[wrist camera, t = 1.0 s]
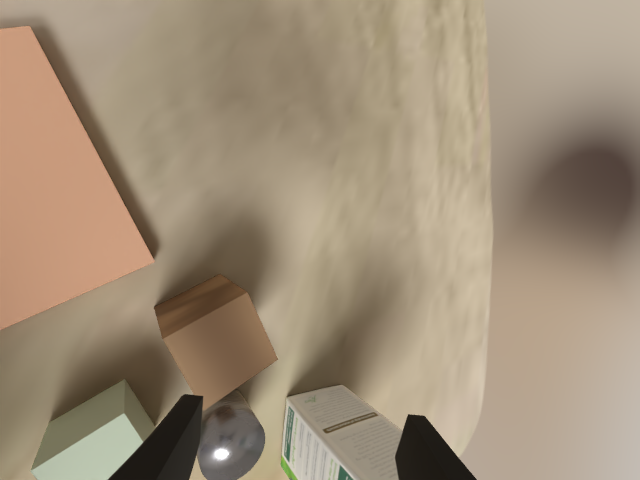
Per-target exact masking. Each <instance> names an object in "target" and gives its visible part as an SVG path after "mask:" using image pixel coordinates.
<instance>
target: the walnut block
mask: <svg viewBox="0 0 640 480" xmlns="http://www.w3.org/2000/svg"><path fill="white" fill-rule="evenodd" d="M154 309H155V313H156V316H157V320H158V324H159V327H160V331H161V335H162V339H163V341H164V342H165V344H166V346H167V348H168V349H169V351H170V353H171V355H172V356H173V358H174V360H175V362H176V364H177V365H178V367H179V369H180V371H181V372H182V374H183V376H184V378H185V379H186V381H187V383H188V385H189V387H190V388H191V390H192V392H193V394H194V395H199V396H203V408H202V409H203V411H204V410H206V409H207V408H208V407H210V406H211V405H213V404H214V403H216V402H217V401H219V400H220V399H221V398H223V397H224V396H226V395H227V394H229V393H230V392H232V391H233V390H234V389H236V388H237V387H239V386H240V385H242V384H243V383H245V382H246V381H247V380H249V379H250V378H252V377H253V376H255V375H256V374H258V373H259V372H261V371H262V370H263V369H265V368H266V367H268V366H269V365H271V364H272V363H274V362H275V361H276V360H278V358H277V356H276V354H275V352H274V349H273V347H272V345H271V343H270V341H269V338H268V336H267V334H266V332H265V329H264V327H263V325H262V323H261V321H260V318H259V316H258V314H257V312H256V310H255V307H254V305H253V303H252V301H251V299H250V296H249V294H248V292H247V291H245V290H244V289H242V288H241V287H239V286H238V285H236V284H235V283H233V282H232V281H230V280H229V279H227V278H226V277H224V276H223V275H221V274H219V275H217V276H215V277H213V278H211V279H209V280H207V281H205V282H203V283H201V284H199V285H197V286H195V287H193V288H191V289H189V290H187V291H185V292H183V293H181V294H179V295H177V296H175V297H173V298H171V299H169V300H167V301H165V302H163V303H161V304H159V305H157V306H155V307H154Z"/></svg>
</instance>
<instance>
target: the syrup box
mask: <svg viewBox="0 0 640 480" xmlns="http://www.w3.org/2000/svg"><path fill="white" fill-rule="evenodd" d="M402 432H403V431H402V430H401V429H400V428H398V427H397V426H396V425H395V424H393V423H392V422H391V421H389V420H388V419H387V418H386V417H384V416H383V415H382V414H380V413H379V412H378V411H376V410H375V409H374V408H372V407H371V406H370V405H369V404H367V403H366V402H365V401H363V400H362V399H361V398H359V397H358V396H357V395H356V394H354V393H353V392H352V391H350V390H349V389H348V388H346V387H345V386H344V385H337V386H332V387H327V388H322V389H318V390H314V391H310V392H305V393H301V394H297V395H293V396H289V397H287V398H286V411H285V420H284V431H283V443H282V457H281V467H282V468H283V470H284V471H285V473H286V474H287V476H288V477H289V479H290V480H399V478H398V473H397V467H396V461H395V455H396V451H397V448H398V445H399V442H400V439H401V436H402Z"/></svg>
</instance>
